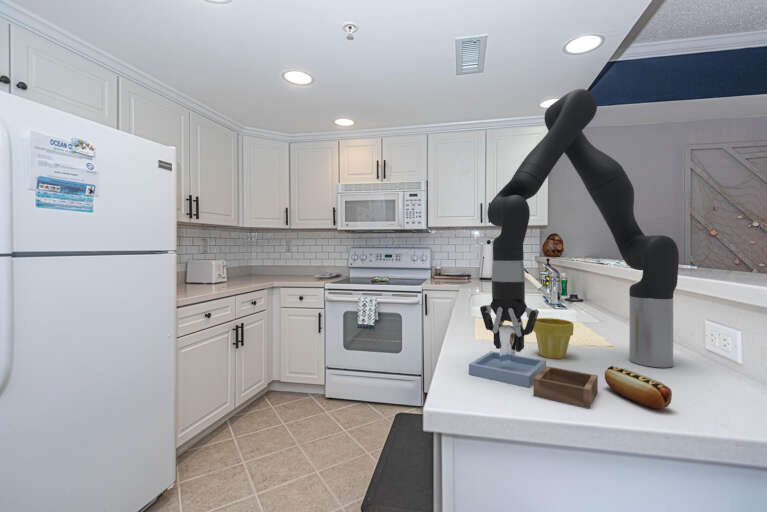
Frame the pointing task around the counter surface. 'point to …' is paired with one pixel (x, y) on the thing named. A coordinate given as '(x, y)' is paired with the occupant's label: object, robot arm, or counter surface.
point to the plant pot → (553, 336)
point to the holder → (566, 386)
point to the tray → (507, 369)
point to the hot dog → (638, 387)
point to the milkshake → (507, 344)
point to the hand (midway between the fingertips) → (508, 349)
